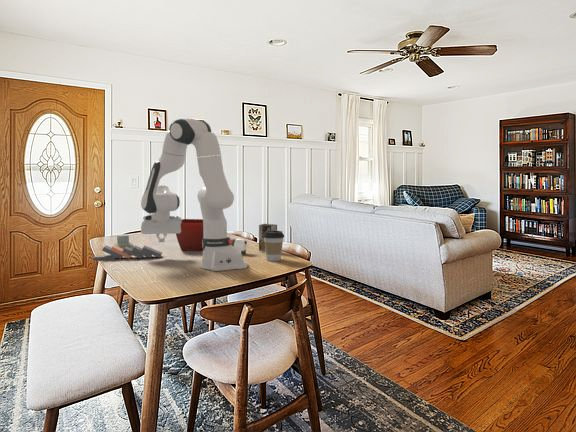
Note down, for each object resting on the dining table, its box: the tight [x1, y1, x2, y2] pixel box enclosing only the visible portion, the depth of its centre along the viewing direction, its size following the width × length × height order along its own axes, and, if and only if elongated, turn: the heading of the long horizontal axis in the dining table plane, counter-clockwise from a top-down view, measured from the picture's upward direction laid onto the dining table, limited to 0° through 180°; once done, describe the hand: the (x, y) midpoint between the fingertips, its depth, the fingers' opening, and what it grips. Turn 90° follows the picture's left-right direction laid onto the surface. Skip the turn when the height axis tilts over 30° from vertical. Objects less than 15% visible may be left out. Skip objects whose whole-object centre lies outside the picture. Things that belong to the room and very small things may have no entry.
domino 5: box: [132, 245, 153, 259], centre depth 190 cm, size 2×5×10 cm
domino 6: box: [142, 245, 163, 259], centre depth 192 cm, size 2×5×10 cm
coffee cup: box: [263, 230, 285, 262], centre depth 189 cm, size 11×11×15 cm
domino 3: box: [111, 245, 132, 259], centre depth 188 cm, size 2×5×10 cm
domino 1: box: [92, 254, 118, 261], centre depth 187 cm, size 2×5×10 cm
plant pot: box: [175, 218, 204, 251], centre depth 217 cm, size 19×19×17 cm
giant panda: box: [227, 236, 248, 256], centre depth 204 cm, size 15×6×10 cm, turn 82°
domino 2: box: [101, 244, 124, 260], centre depth 187 cm, size 2×5×10 cm
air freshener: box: [112, 234, 135, 249], centre depth 202 cm, size 11×8×10 cm
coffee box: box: [258, 223, 278, 253], centre depth 210 cm, size 9×6×16 cm
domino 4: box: [123, 247, 145, 259], centre depth 189 cm, size 2×5×10 cm
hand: (161, 242), depth 192 cm, fingers closed
